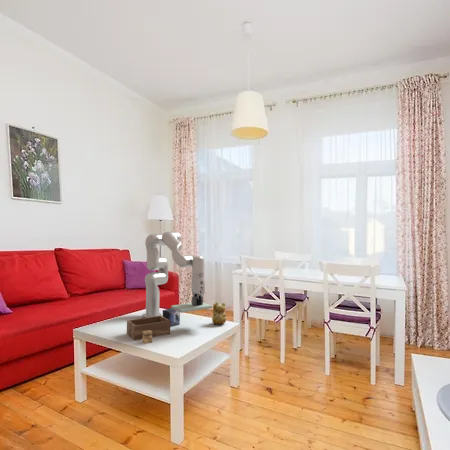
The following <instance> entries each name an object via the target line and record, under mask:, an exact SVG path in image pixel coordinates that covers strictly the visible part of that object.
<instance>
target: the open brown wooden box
mask: <svg viewBox="0 0 450 450" xmlns="http://www.w3.org/2000/svg"><path fill="white" fill-rule="evenodd" d="M170 322H171V321H170V320H168V319H167V318H165V317H163V316H162V315H161V316H154V317H147V318H145V317H142V318H135V319H128V320H126V335H127V336H128V337H130V338H131V339H132V340H133V341H141V340H142V338H143V334H142V333H143V331H146V330H150V331H152V338H155V337H162V336H167V335H171V327H170Z"/></svg>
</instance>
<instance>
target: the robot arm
mask: <svg viewBox="0 0 450 450" xmlns="http://www.w3.org/2000/svg"><path fill="white" fill-rule="evenodd" d="M181 241H182V236H181V234H180V232H178V231H165V232H163V233H152V234H148V235H147V237H146V238H145V241H144V242H145V249H146V267H147V269H148V270H149V271H150V272H149V273H147V274H146V275H145V277H144V283H145V313H144V314H143V318H147V317H154V316H162V313H161V312H160V295H161V294H160V293H161V292H160V288H159V287H158V286H160V285H164V284H167V283H168V280H169V263H168V260H167V258H166V257H165V256H160V255H159V253H160V252H159V250H158V247H157V246H166V247H167V248H168V249H169V250H170V251H171V257H172V260H173V262H174V263H175V264H176V265H177V266H179V267H180V268H191V285H190V286H191V288H190V291H191V293H192V297H197V305H201V304H202V297H203V296H204V295H205V293H206V291H205V290H206V288H205V287H206V284H205V277H204V276H205V275H204V274H205V273H204V269H205V268H204V267H205V266H204V265H205V263H204V262H205V258H204V257H203V256H201V255H193V254H191V255H182V254H181V253H180V251H182V249H183V243H182V242H181ZM151 271H154V272H151Z"/></svg>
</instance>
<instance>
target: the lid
mask: <svg viewBox="0 0 450 450" xmlns="http://www.w3.org/2000/svg"><path fill="white" fill-rule="evenodd" d="M170 308H172V309H174V310H176V311H179V312H180V314H183V313H189V312H190V313H191V312H195V311H201V310H208V309H213V305H212V304H210V303H209V304H208V303H206V302H204V297H203V296H202V304H201V305H197V297H193V296H192V297H191V302H189V303H188V302H187V303H182V304H173V305H170Z"/></svg>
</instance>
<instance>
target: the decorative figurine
mask: <svg viewBox="0 0 450 450" xmlns="http://www.w3.org/2000/svg"><path fill="white" fill-rule="evenodd" d="M225 311H226V302H225V301H223V302H222V303H220V302H219V301H218V300H217V301H216V302H214V303H213V305H212V314H213V315H212V317H211V319H212V323H213V325H214V326H222V325H223V324H225V323H226V321H227V314H226V312H225Z"/></svg>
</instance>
